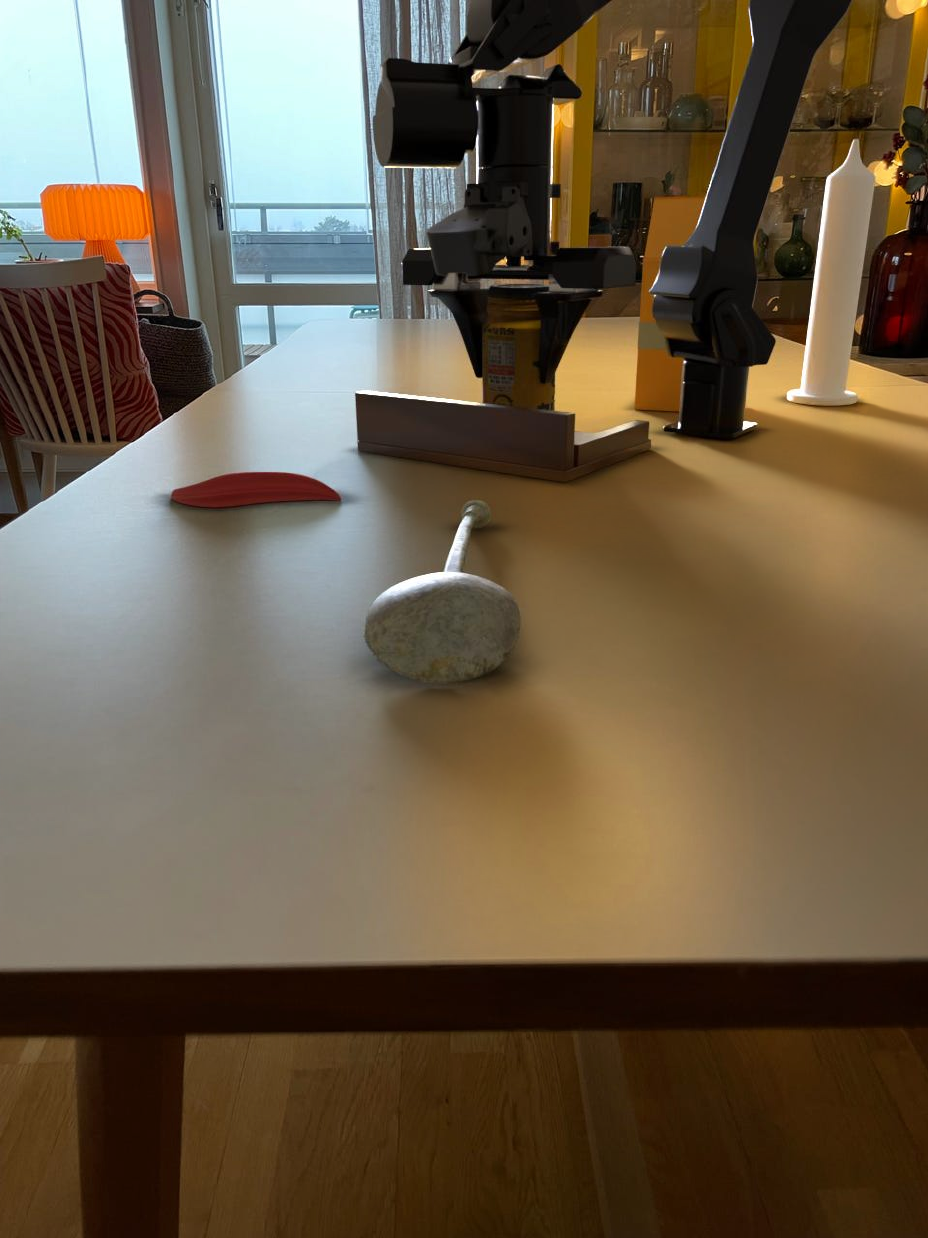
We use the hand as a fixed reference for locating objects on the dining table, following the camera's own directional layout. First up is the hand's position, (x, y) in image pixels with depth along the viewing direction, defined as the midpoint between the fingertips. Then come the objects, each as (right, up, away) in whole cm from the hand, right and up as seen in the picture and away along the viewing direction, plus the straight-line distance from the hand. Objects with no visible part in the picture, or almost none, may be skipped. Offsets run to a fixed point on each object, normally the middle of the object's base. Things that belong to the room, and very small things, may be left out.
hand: (512, 380), depth 77 cm
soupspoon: (-4, -18, -30) cm, 35 cm away
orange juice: (+19, +3, +21) cm, 29 cm away
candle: (+34, +4, +23) cm, 42 cm away
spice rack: (-1, -5, +1) cm, 6 cm away
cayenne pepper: (-18, -12, -13) cm, 25 cm away
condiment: (0, -4, +2) cm, 5 cm away
